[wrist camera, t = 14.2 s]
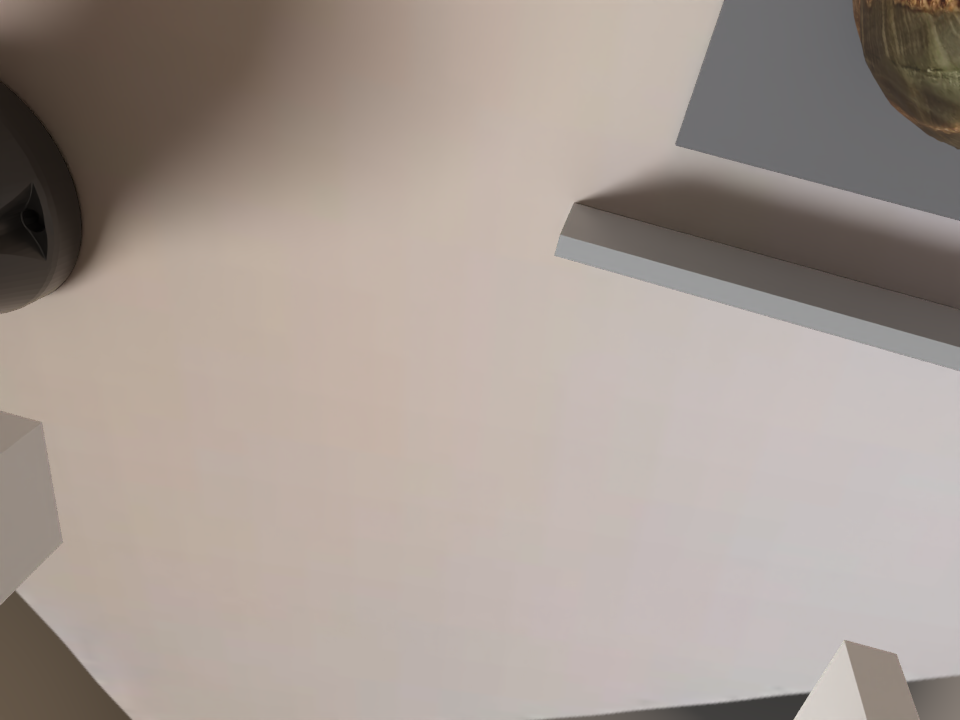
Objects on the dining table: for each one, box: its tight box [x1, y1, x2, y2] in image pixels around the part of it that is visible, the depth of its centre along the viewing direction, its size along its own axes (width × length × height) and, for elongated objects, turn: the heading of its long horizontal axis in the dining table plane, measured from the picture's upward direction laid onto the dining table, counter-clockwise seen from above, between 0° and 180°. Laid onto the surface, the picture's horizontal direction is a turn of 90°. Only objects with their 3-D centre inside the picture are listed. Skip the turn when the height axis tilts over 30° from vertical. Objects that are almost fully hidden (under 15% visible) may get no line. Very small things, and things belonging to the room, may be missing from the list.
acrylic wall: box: [554, 203, 960, 371], centre depth 33 cm, size 26×1×5 cm, turn 78°
